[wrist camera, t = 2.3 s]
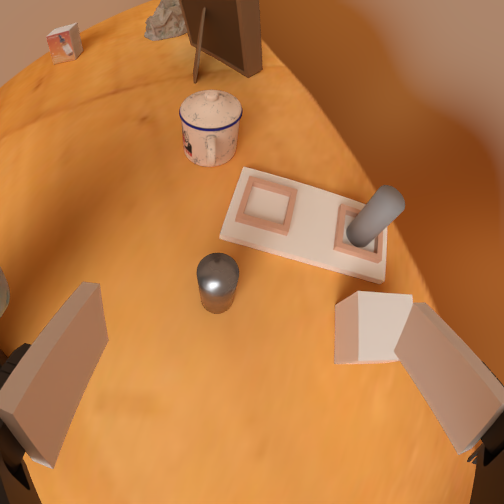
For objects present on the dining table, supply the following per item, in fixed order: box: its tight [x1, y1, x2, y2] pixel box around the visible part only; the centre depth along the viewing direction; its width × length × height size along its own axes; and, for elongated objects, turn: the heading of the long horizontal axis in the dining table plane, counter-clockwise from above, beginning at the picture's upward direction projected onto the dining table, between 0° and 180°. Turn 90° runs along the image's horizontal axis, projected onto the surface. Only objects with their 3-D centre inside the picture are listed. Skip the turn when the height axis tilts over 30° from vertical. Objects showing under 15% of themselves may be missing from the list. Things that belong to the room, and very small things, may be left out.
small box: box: [46, 23, 83, 64], centre depth 52 cm, size 8×6×10 cm
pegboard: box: [220, 167, 405, 284], centre depth 38 cm, size 24×12×12 cm, turn 76°
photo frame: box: [179, 0, 262, 83], centre depth 46 cm, size 15×22×25 cm
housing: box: [334, 291, 413, 364], centre depth 34 cm, size 8×8×7 cm
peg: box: [197, 253, 239, 314], centre depth 32 cm, size 4×4×10 cm
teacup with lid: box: [179, 90, 242, 167], centre depth 41 cm, size 12×9×12 cm
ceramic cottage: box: [144, 0, 187, 41], centre depth 58 cm, size 16×16×15 cm
